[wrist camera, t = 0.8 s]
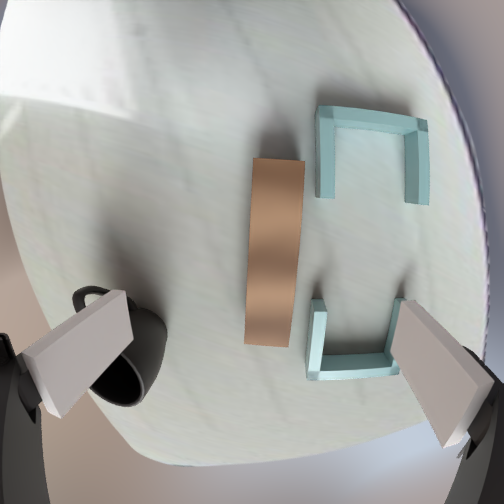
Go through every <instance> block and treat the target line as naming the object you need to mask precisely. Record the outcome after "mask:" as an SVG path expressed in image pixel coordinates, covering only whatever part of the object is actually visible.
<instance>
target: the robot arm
mask: <svg viewBox="0 0 504 504" xmlns="http://www.w3.org/2000/svg"><path fill="white" fill-rule="evenodd" d="M132 340H133V334H132V328H131V323H130V317H129V311H128V305H127V299H126V292H125V291H124V290H115V289H113V290H111V291H110V292H108V293H107V294H105V295H104V296H102V297H100V298H99V299H97V300H96V301H94V302H93V303H91V304H90V305H88V306H87V307H85V308H84V309H82V310H81V311H79V312H78V313H76V314H75V315H73V316H72V317H71V318H69V319H68V320H66V321H65V322H63V323H62V324H60V325H59V326H57V327H56V328H55V329H53V330H52V331H50V332H49V333H48V334H46V335H45V336H43V337H42V338H40V339H39V340H38V341H36V342H35V343H33V344H32V345H31V346H29V347H28V348H27V349H25V350H24V351H22V352H21V353H20V354H19V355H17V356H16V355H15V353H14V350H13V347H12V344H11V342H10V339H9V336H8V335H7V334H5V333H0V504H50V501H49V495H48V489H47V483H46V477H45V469H44V460H43V449H42V431H41V410H40V408H39V406H38V404H39V403H40V402H41V401H43V403H44V405H45V407H46V409H47V411H48V412H49V413H51V414H53V415H55V416H57V417H59V418H61V419H62V418H63V417H64V415H65V414H66V413H67V412H68V411H69V410H70V409H71V407H72V406H73V405H74V404H75V403H76V402H77V401H78V399H79V398H80V397H81V396H82V395H83V394H84V393H85V392H86V391H87V389H88V388H89V387H90V386H91V385H92V384H93V383H94V382H95V381H96V380H97V378H98V377H99V376H100V375H101V374H102V373H103V372H104V371H105V370H106V369H107V367H108V366H109V365H110V364H111V363H112V362H113V361H114V360H115V359H116V358H117V357H118V355H119V354H120V353H121V352H122V351H123V350H124V349H125V348H126V347H127V346H128V345H129V344H130V343H131V341H132ZM390 352H391V354H392V356H393V357H394V359H395V361H396V362H397V364H398V366H399V368H400V369H401V371H402V373H403V375H404V376H405V378H406V380H407V382H408V383H409V385H410V387H411V389H412V391H413V392H414V394H415V396H416V398H417V400H418V402H419V403H420V405H421V407H422V409H423V411H424V413H425V415H426V417H427V419H428V420H429V422H430V424H431V426H432V428H433V430H434V432H435V434H436V436H437V438H438V440H439V442H440V444H441V447H442V448H445V447H449V446H451V445H455V444H457V443H459V442H460V441H461V439H462V438H463V436H464V435H465V433H466V432H467V431H468V433H469V435H470V437H471V438H470V439H469V440H468V442H467V443H466V445H465V446H464V448H463V449H462V450H461V452H460V453H459V454H458V456H457V458H459V457H460V456H461V455H462V454H463V453H464V454H463V457H462V460H461V463H460V466H459V469H458V472H457V474H456V477H455V480H454V482H453V485H452V487H451V490H450V492H449V495H448V497H447V499H446V501H445V503H444V504H504V383H502V382H501V381H500V380H499V379H498V378H497V377H496V375H495V374H494V373H493V372H492V371H491V370H490V369H489V368H488V367H487V366H485V364H484V363H483V361H482V360H479V359H480V358H479V357H478V356H477V355H476V354H475V353H474V352H473V351H471V350H469V349H468V348H466V347H464V346H461V344H460V343H459V342H458V341H457V340H456V339H455V338H454V337H453V336H452V335H451V334H450V333H449V332H448V331H447V330H446V329H445V328H444V327H443V326H441V325H440V324H439V323H438V322H437V321H436V320H435V319H434V318H433V317H432V316H431V315H430V314H429V313H428V312H427V311H426V310H425V309H424V308H423V307H422V306H421V305H419V304H418V303H417V302H416V301H415V300H411V301H401V305H400V311H399V315H398V320H397V325H396V329H395V334H394V338H393V342H392V346H391V350H390Z"/></svg>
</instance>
